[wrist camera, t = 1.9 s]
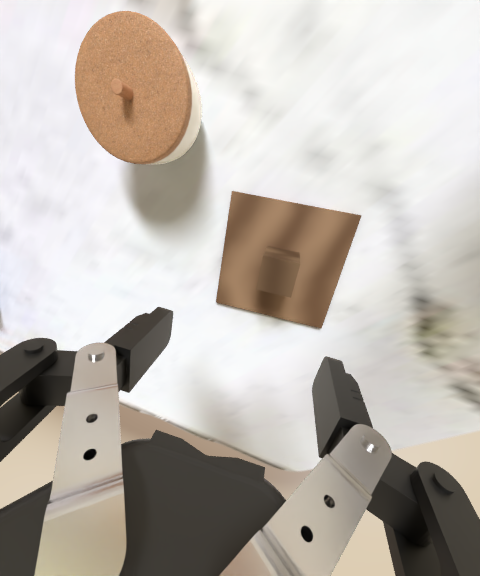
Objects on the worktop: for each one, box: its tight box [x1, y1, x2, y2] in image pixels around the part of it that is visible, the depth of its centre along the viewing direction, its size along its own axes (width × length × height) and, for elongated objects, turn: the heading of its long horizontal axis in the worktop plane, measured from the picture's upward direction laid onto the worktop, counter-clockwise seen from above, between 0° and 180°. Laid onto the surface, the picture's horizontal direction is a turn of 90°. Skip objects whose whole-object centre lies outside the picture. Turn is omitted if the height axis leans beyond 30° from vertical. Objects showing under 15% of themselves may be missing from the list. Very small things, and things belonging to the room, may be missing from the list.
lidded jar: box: [75, 11, 202, 165], centre depth 24 cm, size 11×11×9 cm
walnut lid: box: [216, 191, 361, 328], centre depth 30 cm, size 15×15×6 cm
